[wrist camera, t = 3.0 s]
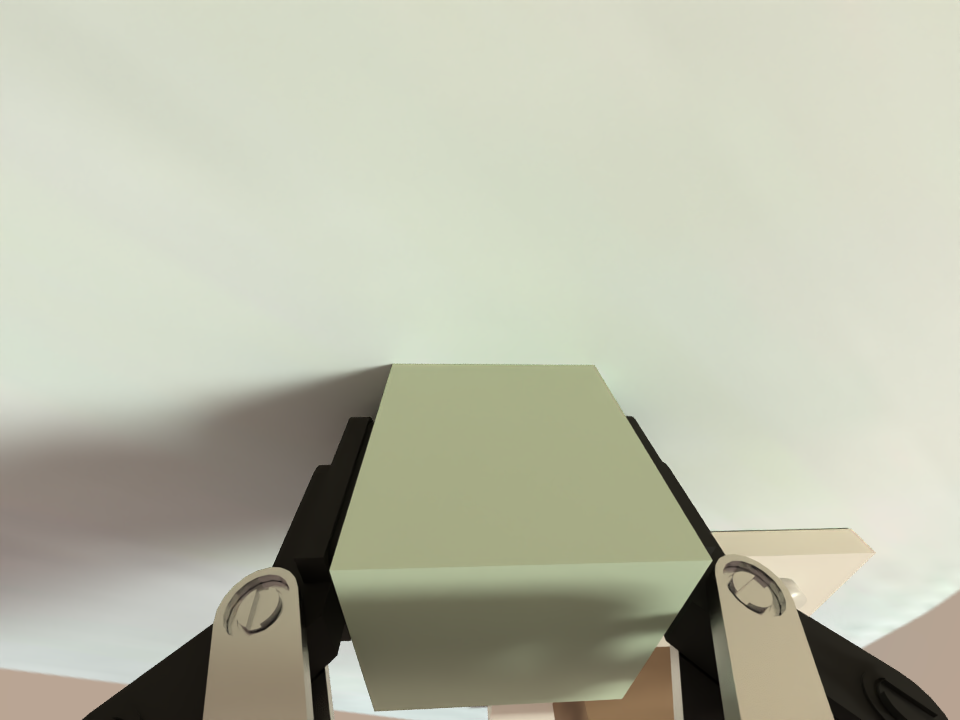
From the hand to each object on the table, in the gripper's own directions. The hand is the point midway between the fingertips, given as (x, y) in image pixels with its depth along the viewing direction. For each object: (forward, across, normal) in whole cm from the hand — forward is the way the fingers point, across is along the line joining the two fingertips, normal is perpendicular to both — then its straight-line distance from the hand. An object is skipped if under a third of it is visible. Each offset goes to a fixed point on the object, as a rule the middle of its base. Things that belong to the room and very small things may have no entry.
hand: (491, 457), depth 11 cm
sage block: (+1, 0, 0) cm, 1 cm away
